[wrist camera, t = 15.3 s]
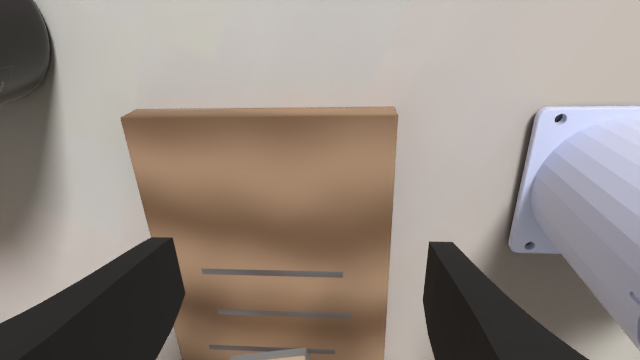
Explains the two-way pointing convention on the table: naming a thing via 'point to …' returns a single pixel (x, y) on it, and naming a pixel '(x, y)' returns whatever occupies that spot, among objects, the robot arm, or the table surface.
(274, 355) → the block
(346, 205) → the board
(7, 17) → the supplement bottle
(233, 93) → the table surface
